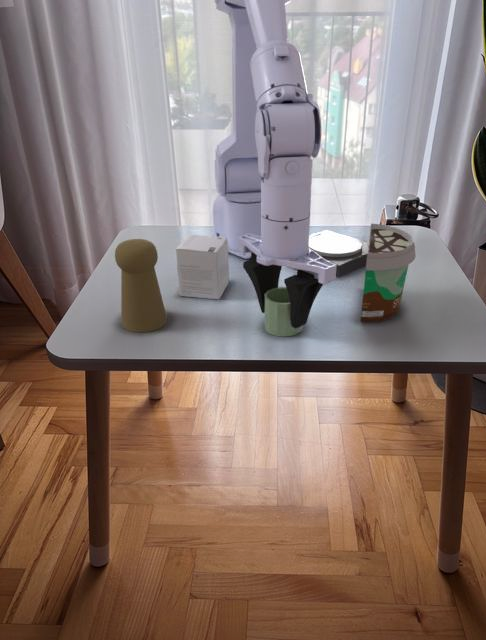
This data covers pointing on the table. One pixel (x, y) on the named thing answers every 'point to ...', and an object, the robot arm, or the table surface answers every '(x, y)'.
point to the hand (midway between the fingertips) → (283, 317)
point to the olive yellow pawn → (139, 286)
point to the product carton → (203, 266)
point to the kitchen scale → (340, 250)
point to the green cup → (278, 313)
